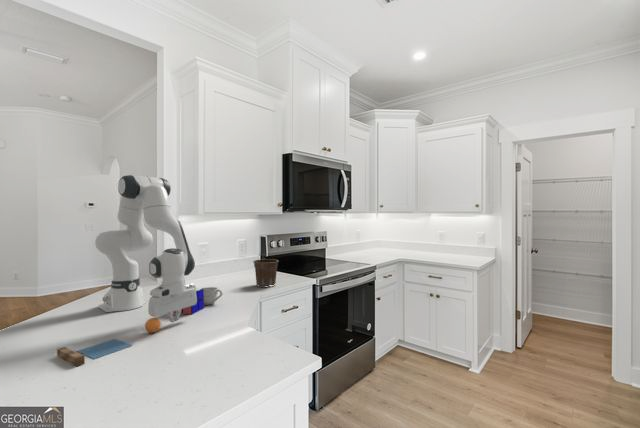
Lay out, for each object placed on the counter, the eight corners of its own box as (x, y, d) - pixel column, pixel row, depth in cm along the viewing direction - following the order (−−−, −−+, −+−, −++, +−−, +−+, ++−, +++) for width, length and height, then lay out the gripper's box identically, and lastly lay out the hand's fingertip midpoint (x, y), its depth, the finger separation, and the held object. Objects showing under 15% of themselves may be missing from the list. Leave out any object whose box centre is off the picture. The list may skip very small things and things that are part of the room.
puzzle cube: (191, 314, 144) (191, 293, 144) (172, 313, 146) (172, 292, 146) (204, 308, 154) (203, 288, 154) (186, 307, 156) (185, 287, 156)
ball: (141, 333, 122) (141, 319, 122) (155, 328, 126) (155, 315, 126) (150, 336, 119) (150, 321, 119) (163, 331, 124) (163, 317, 124)
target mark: (76, 351, 106) (76, 350, 106) (114, 339, 116) (114, 338, 116) (93, 359, 100) (94, 358, 100) (132, 345, 110) (132, 345, 110)
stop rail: (57, 356, 102) (57, 349, 102) (64, 354, 104) (64, 346, 104) (76, 366, 95) (76, 358, 95) (84, 363, 97) (84, 355, 97)
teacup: (191, 305, 159) (190, 289, 160) (206, 300, 170) (206, 285, 170) (213, 308, 154) (212, 292, 154) (227, 302, 164) (227, 287, 164)
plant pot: (284, 285, 204) (283, 260, 204) (264, 289, 192) (264, 263, 192) (268, 281, 215) (267, 258, 215) (248, 286, 203) (248, 261, 203)
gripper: (190, 282, 141) (191, 313, 141) (145, 292, 124) (146, 327, 123) (199, 283, 138) (200, 315, 138) (155, 294, 120) (155, 330, 120)
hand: (174, 321), depth 130 cm, fingers closed
